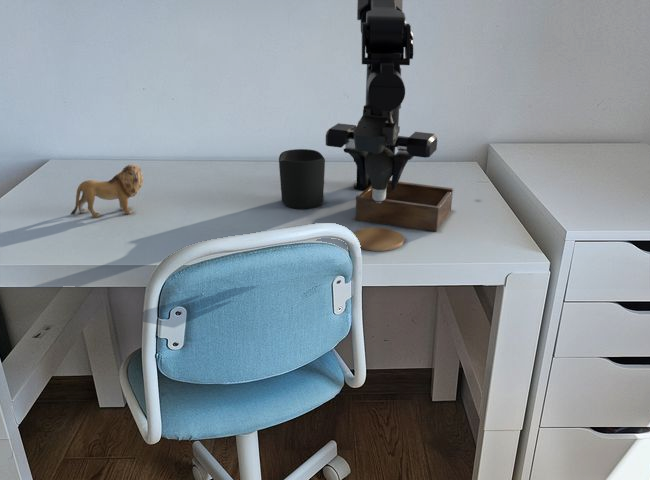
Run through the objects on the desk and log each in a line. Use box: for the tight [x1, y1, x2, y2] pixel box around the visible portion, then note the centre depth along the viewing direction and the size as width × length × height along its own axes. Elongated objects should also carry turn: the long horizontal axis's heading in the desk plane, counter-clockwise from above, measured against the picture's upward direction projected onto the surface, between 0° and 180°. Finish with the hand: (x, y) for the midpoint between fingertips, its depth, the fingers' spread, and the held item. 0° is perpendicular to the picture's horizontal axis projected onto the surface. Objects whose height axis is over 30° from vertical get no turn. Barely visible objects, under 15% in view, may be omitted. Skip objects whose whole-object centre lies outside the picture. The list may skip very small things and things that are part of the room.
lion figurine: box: [70, 164, 144, 218], centre depth 137 cm, size 15×5×9 cm, turn 116°
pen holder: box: [278, 148, 326, 210], centre depth 145 cm, size 9×9×10 cm
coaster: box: [352, 227, 405, 252], centre depth 130 cm, size 10×10×1 cm
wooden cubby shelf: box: [355, 179, 454, 232], centre depth 141 cm, size 17×13×5 cm
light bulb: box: [365, 147, 394, 203], centre depth 124 cm, size 6×6×10 cm
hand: (379, 188), depth 125 cm, fingers closed on light bulb, 5 cm apart
